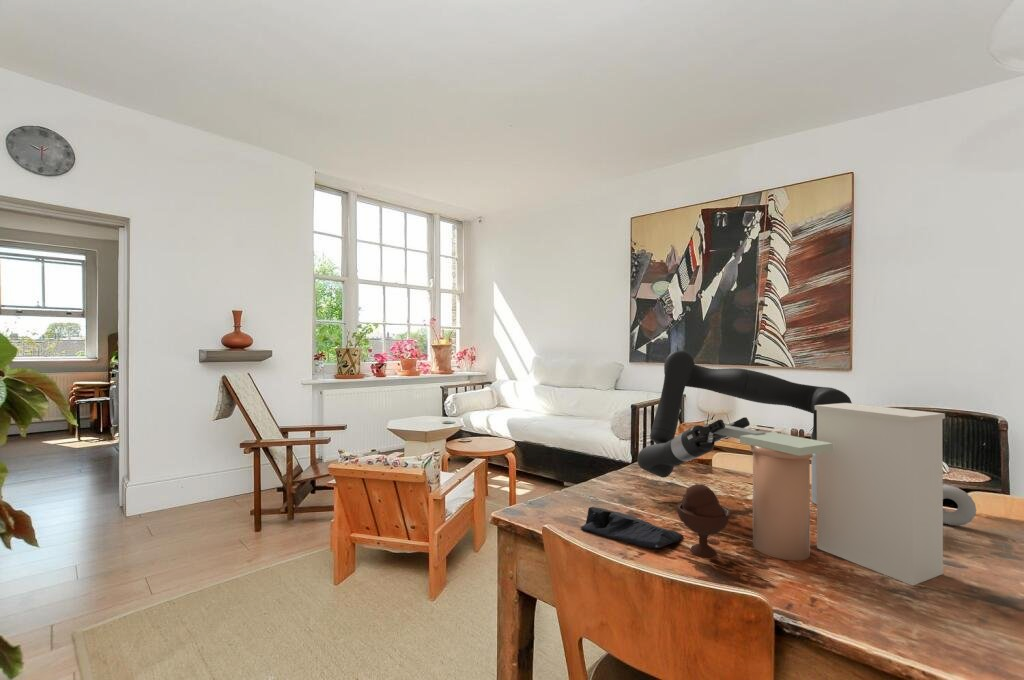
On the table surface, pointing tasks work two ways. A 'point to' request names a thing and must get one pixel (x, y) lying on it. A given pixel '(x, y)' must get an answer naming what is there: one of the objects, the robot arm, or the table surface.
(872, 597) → the table surface
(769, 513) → the terracotta pot
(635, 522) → the black flat lumpy piece
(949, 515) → the donut
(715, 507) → the ice cream bowl
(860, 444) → the upright grey panel box
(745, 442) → the cover
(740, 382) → the robot arm
